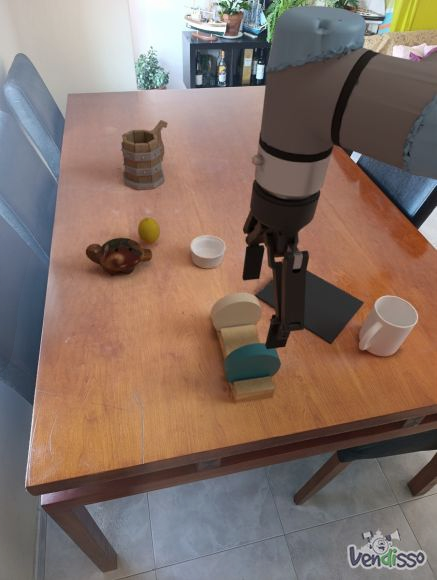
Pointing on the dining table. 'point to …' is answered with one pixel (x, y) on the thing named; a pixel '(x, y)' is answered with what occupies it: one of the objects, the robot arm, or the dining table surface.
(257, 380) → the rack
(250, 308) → the cream disc
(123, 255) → the brown piece
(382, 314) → the mug
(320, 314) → the mat
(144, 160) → the tankard
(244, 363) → the teal disc
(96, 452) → the dining table surface
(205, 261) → the ramekin
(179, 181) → the dining table surface
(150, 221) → the lemon
